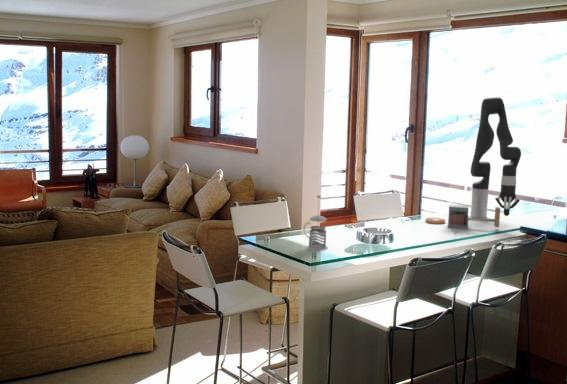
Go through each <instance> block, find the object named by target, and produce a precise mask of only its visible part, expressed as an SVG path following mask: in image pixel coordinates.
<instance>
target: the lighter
mask: <svg viewBox="0 0 567 384" xmlns="http://www.w3.org/2000/svg"><path fill="white" fill-rule="evenodd" d="M452 212H454V213H451V224H457V225H465V216H466V214H463V213H464V211H452ZM456 212H457V213H456ZM461 212H462V214H461Z"/></svg>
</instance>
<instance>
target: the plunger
mask: <svg viewBox="0 0 567 384" xmlns="http://www.w3.org/2000/svg"><path fill="white" fill-rule="evenodd" d="M500 216H501V207H500V206H495V211H494V218H475V217H469V215H468V222H467V229H468V228H469V221H476V222H477V221H479V222H493V223H494V224H493V225H494V227H495V228H500V218H501V217H500ZM466 219H467V215H466Z"/></svg>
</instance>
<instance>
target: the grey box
mask: <svg viewBox="0 0 567 384" xmlns="http://www.w3.org/2000/svg"><path fill="white" fill-rule="evenodd" d="M452 211H464V213H463V214H466V215H467V219H466V216H465V225H457V224H451V213H454V212H452ZM456 213H457V212H456ZM461 214H462V212H461ZM468 216H469V205H459V204H456V205H455V204H454V205H453V204H449V205H448V222H447V228H448V229H449V228H450V229H460V228H466V229H465V230H468V228H467V222H468V223H469V220H468Z"/></svg>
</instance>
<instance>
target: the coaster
mask: <svg viewBox="0 0 567 384" xmlns="http://www.w3.org/2000/svg"><path fill="white" fill-rule="evenodd" d="M424 222H425V223H428V224H431V223H432V224H431V225H443V224H445V223H446V219H445V218H442V217H441V218H440V217H427V218H425V221H424Z"/></svg>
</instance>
